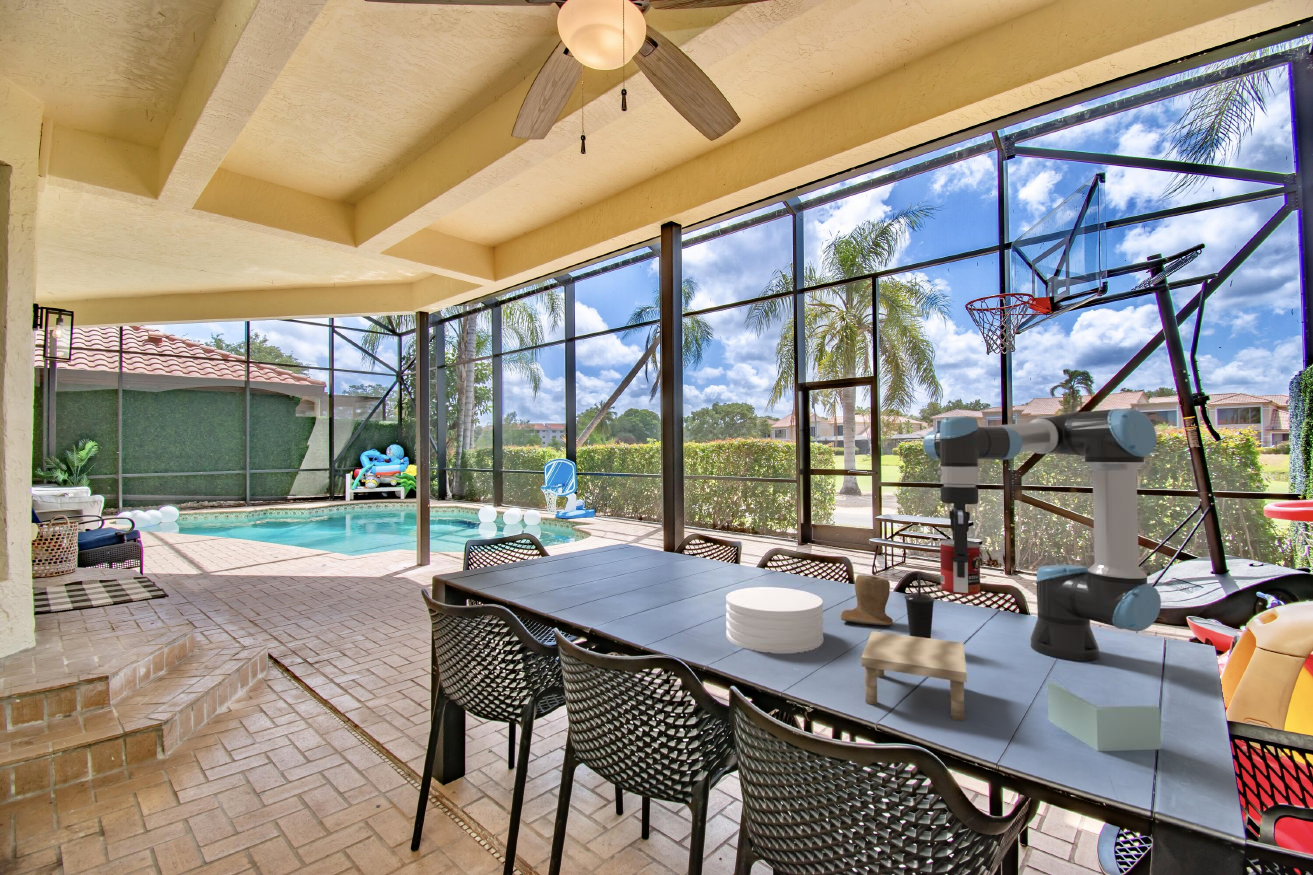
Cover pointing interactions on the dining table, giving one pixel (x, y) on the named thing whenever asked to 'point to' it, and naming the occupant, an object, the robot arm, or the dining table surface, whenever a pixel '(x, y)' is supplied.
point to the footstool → (915, 663)
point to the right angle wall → (1104, 722)
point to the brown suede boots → (869, 601)
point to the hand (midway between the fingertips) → (960, 587)
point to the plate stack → (774, 619)
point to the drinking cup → (919, 613)
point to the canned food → (948, 567)
